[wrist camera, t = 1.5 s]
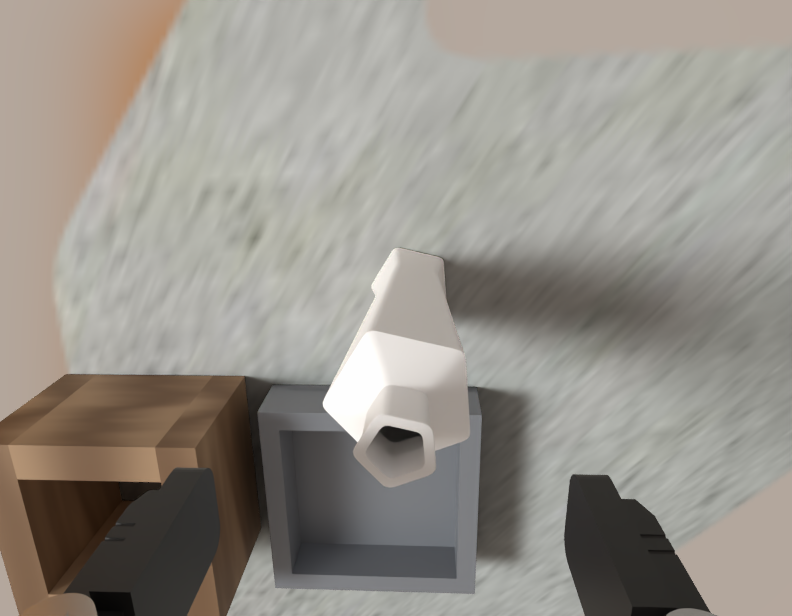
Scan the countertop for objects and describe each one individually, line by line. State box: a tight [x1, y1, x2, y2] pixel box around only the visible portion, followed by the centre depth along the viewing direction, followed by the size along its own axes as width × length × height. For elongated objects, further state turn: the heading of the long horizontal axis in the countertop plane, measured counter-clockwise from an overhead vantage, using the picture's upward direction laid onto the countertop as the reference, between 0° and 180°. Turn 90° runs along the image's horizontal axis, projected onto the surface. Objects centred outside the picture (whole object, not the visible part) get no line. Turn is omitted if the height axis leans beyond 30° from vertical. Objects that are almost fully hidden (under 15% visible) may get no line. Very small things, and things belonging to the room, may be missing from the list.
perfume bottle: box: [323, 248, 470, 488], centre depth 22 cm, size 5×4×15 cm
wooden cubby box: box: [0, 374, 261, 616], centre depth 29 cm, size 10×10×7 cm
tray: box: [257, 385, 482, 594], centre depth 31 cm, size 11×11×3 cm
